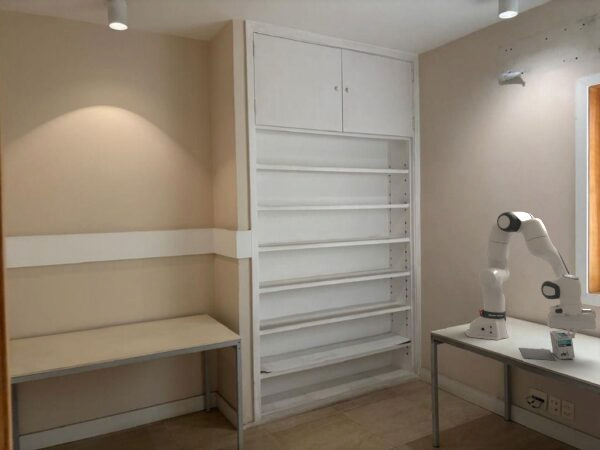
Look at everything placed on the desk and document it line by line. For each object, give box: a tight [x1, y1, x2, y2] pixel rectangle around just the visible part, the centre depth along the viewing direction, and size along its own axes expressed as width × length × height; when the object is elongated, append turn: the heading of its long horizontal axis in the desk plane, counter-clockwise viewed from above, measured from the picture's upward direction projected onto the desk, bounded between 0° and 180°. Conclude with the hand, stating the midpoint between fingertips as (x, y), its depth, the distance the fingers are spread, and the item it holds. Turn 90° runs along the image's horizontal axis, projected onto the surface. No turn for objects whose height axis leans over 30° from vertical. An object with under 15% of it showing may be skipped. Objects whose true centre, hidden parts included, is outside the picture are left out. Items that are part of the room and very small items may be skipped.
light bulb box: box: [549, 329, 576, 360], centre depth 226 cm, size 11×7×11 cm, turn 170°
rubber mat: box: [518, 347, 558, 362], centre depth 229 cm, size 14×16×1 cm
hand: (571, 337), depth 225 cm, fingers closed
